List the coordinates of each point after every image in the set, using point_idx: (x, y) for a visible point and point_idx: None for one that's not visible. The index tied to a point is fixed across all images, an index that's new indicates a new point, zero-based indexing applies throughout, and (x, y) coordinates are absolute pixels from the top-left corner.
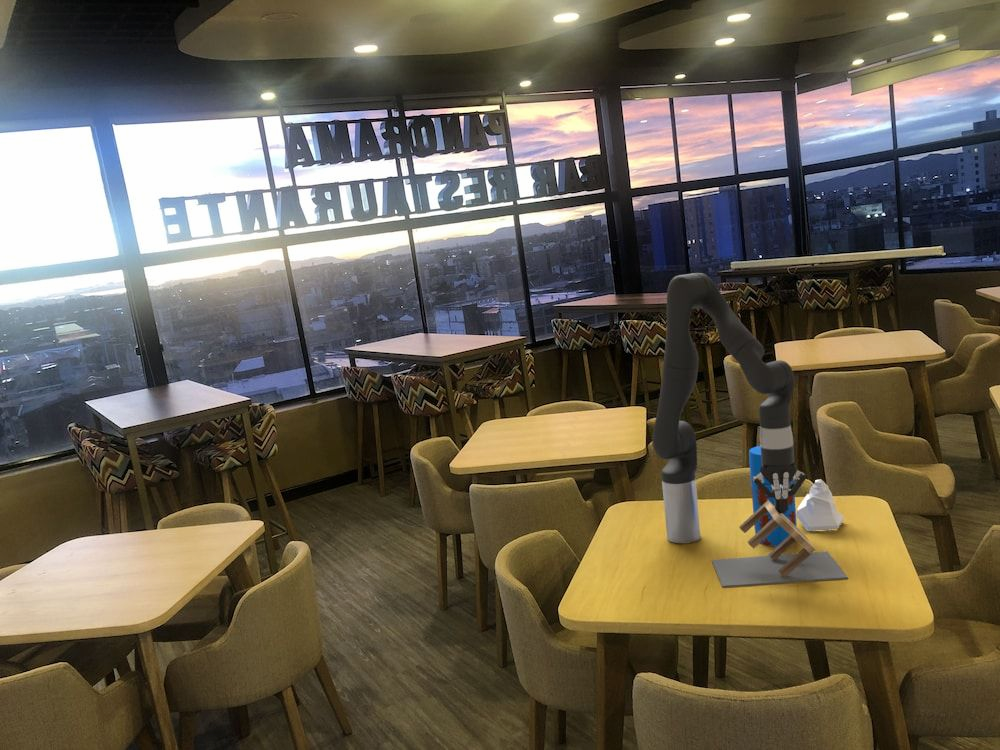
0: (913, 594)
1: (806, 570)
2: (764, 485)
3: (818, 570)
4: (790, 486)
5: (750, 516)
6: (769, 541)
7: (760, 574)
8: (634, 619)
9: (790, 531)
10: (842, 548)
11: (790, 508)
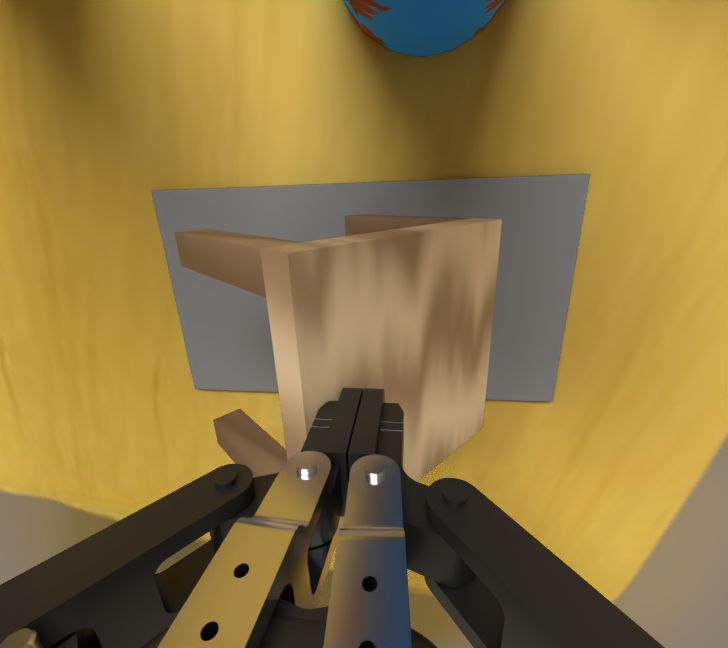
0: (670, 511)
1: None
2: (131, 643)
3: None
4: (463, 557)
5: (205, 240)
6: (378, 36)
7: None
8: (31, 490)
9: None
10: (673, 129)
11: None
